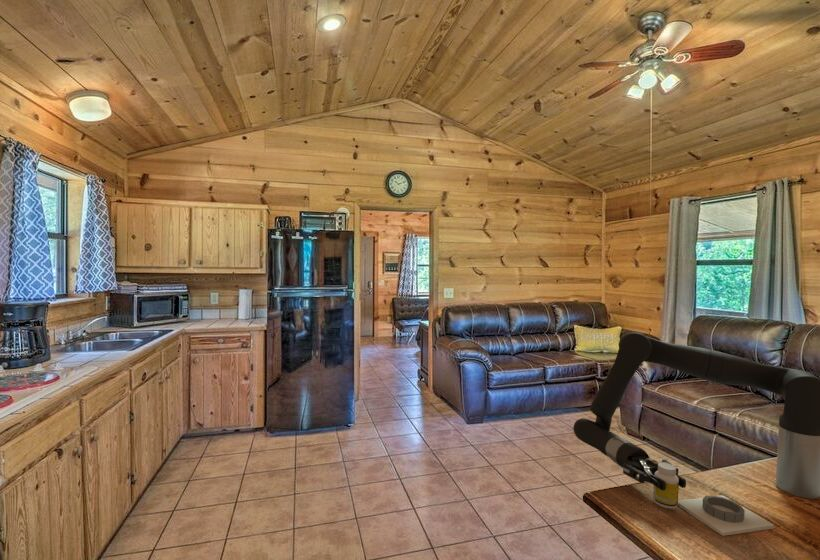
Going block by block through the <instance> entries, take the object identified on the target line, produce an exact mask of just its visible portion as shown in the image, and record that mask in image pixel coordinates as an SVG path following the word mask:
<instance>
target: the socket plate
mask: <svg viewBox="0 0 820 560" xmlns="http://www.w3.org/2000/svg"><path fill="white" fill-rule="evenodd" d="M677 507H679V508H680V509H682V510H684V511H685V510H686V512H687V513H688V514H690V515H691V516H693V517H695V518H696V519H697V520H698V521H700V522H701V523H703V524H705V525H706V526H707V527H709V528H710V529H712V531H715V533H716V532H717V533H718V534H719V535H721V536H722V537H724V536H730V535H738V534H745V533H753V532H759V531H760V532H761V531H765V530H772V529H773V530H774V529H775V524H773V523H771V522H770V521H768V520H767V519H764V518H763V517H762V516H759V515H758V514H756V513H755V512H752V511H751V510H749V509H747V508H746V507H743V506H742V505H740V504H739V503H737V502H735V501H734V500H732V499H730V498H728V497H727V496H725V495H704V497H698V498H689V499H688V498H687V499H682V500H681V499H680V500H679V499H678V506H677Z"/></svg>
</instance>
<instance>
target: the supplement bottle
mask: <svg viewBox="0 0 820 560" xmlns="http://www.w3.org/2000/svg"><path fill="white" fill-rule="evenodd" d="M660 462H661V463H658V471H656V472H655V474H654V475H655V476H657V477H659V478H660V479H662V480H663V481H665V483H666V490H661V489H659V488H657V487H656V486H655V485H653V492H652V493H653V502H654V503H655V504H657V505H658V506H659V507H662V508H665V509H676V508H678V507H679V506H678V501H679V489H680V488H679V487H680V486H679V479H678V477H677V476H676V475H675V474H676V468H677V467H676V466H675V465H673V464H672V463H671V464H669V463H664V462H662V461H660Z"/></svg>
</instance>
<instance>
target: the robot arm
mask: <svg viewBox="0 0 820 560" xmlns="http://www.w3.org/2000/svg"><path fill="white" fill-rule="evenodd" d="M615 357H616V358H615V361H614V362H613V365H612V367H611V369H610V370H609V373H608V374H607V375H606V378H605V379H604V381H602V384H601V385H600V387H599V389H598V390H597V392H596V394H595V396H594V399H593V400H592V402H591V404H590V406H589V410H590V412H591V413H592V414H593V415H595V416H596V417H595V421H593V420H590V419H588V418H579V419H577V420H575V422H574V424H573V429H572V430H573V433H574V436H576V438H577V439H578V440H579V441H581V442H583V443H584V444H587V445H589V446H590V447H592V448H594V449H596V450H598V451H599V452H600V453H601V454H603V455H604V456H606V457H607V458H609V459H610V460H611V461H612V462H614V464H616V465H618V466H619V467H620V468H622V473H623V474H624V475H626V476H628V477H629V478H631V479H633V480H634V481H637V482H638V483H641V484H644V483H645V482H646V483H647V484H652V485H653V486H654V485H655V486H656V487H657V488H659V489H661V490H666V483H665V481H663V480H662V479H660V478H659V477H657V476H655V475H654V474H655V472H656V471H658V463H661V462H664V463H669V464H672V463H671V462H670V461H668V460H667V459H662V460H661V461H660V462H659V461H657V460H656V459H652V458H650V457H649V455H648V453H647V451H645V450H644V449H643V448H641V447H640V446H638V445H637V444H634V443H632V442H631V441H630V440H628V439H625V438H623V437H621V436H620V435H617V434H616V433H614V432H612V431H611V426H612V420H613V416H614V414H615V412H616V411H617V408H618V407H619V404H620V403H621V400H622V398H623V396H624V394H625V392H626V390H627V388H628V386H629V383H630V381H631V380H632V378H633V376H634V375H635V374H636V372H637V370H638V369H639V368H640V367H641V365H642V364H643V363H644V362H647V363H652V364H658V365H661V366H664V367H668V368H671V369H673V370H675V371H678V372H681V373H683V374H686V375H690V376H692V377H695V378H698V379H702V380H704V381H708V382H712V383H713V382H714V383H717V384H721V385H728V386H739V387H741V386H742V387H750V388H756V389H760V390H764V391H767V392H770V393H773V394H776V395H779V396H781V397H783V398H784V404H783V411H782V414H781V415H780V416H779V418H778V433H777V435H778V436H777V450H776V451H777V452H776V453H777V454H776V467H775V468H776V470H775V486H776V487H777V488H779V489H780V490H781V491H783V492H785V493H787V494H791V495H792V496H796V497H800V498H804V499H809V500H810V499H811V500H814V499H815V500H816V499H819V498H820V378H819V376H816V375H815V374H813V373H811V372H809V371H805V370H802V369H796V368H789V367H782V366H777V365H770V364H764V363H759V362H755V361H753V360H751V359H750V360H749V359H747V358H743V357H740V356H737V355H733V354H729V353H727V352H726V353H725V352H721V351H718V350H713V349H710V348H704V347H699V346H694V345H685V344H678V343H670V342H666V341H662V340H659V339H656V338H653V337H650V336H647V335H644V334H643V333H640V332H636V331H631V332H628V333H625V334H624V335H623V336H621V337H620V339H619V341H618V351H617V354H616V356H615ZM675 475H676V476H677V477H678V479H679V487H680V488H681V489H685V488H686V487H687V481H686V478H684V477H682V476H681V475H679V468H677V467H676V474H675Z"/></svg>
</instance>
